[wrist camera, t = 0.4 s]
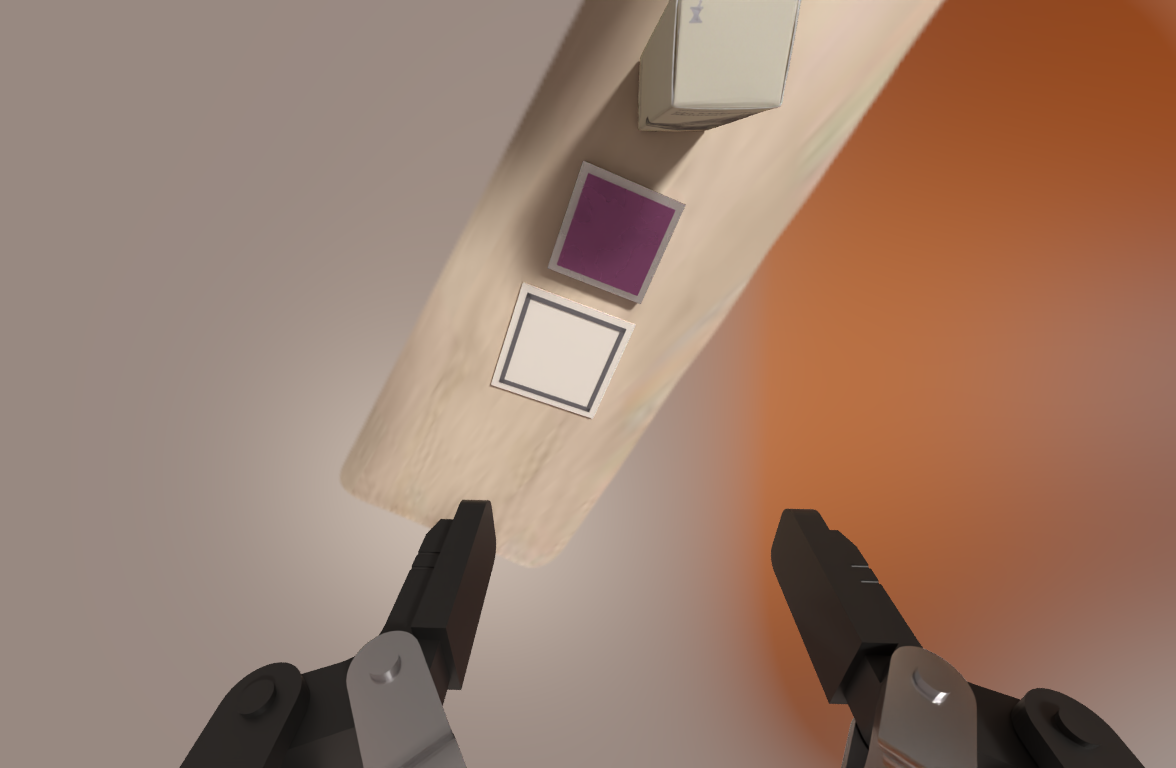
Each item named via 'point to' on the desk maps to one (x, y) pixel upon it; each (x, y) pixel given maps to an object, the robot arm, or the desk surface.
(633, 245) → the ink pad
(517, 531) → the desk surface
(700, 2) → the box
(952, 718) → the robot arm
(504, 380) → the paper
